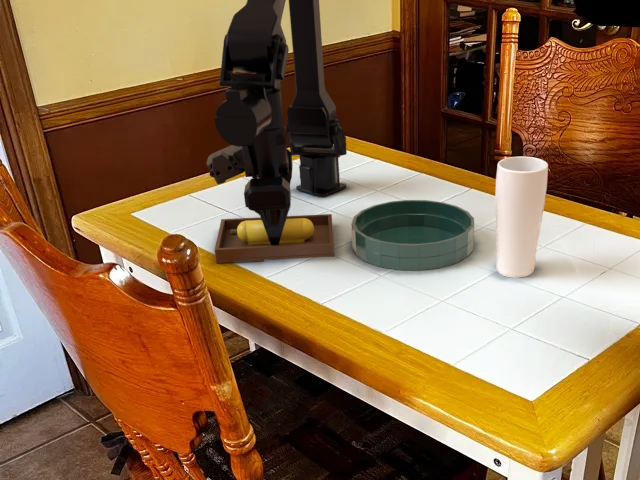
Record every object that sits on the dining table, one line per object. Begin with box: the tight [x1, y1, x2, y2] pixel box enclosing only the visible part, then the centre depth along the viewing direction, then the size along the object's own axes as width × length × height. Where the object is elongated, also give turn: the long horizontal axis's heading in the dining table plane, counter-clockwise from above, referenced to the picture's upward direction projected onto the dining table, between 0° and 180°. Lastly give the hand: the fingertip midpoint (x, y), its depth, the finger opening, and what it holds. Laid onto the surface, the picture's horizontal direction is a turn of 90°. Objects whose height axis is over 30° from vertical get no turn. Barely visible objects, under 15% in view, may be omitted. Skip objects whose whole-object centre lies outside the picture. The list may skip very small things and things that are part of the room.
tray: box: [214, 213, 335, 264], centre depth 127 cm, size 17×12×2 cm
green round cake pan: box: [350, 199, 475, 271], centre depth 125 cm, size 18×18×4 cm
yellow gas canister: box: [231, 218, 314, 245], centre depth 127 cm, size 12×3×3 cm, turn 95°
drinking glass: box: [494, 155, 549, 279], centre depth 115 cm, size 7×7×15 cm
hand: (275, 233), depth 127 cm, fingers open, 9 cm apart
